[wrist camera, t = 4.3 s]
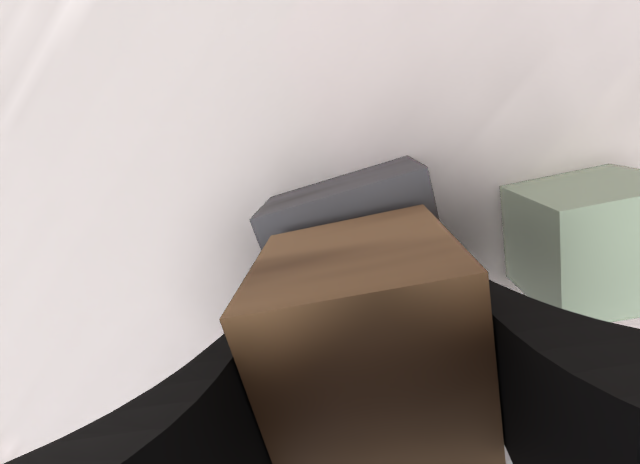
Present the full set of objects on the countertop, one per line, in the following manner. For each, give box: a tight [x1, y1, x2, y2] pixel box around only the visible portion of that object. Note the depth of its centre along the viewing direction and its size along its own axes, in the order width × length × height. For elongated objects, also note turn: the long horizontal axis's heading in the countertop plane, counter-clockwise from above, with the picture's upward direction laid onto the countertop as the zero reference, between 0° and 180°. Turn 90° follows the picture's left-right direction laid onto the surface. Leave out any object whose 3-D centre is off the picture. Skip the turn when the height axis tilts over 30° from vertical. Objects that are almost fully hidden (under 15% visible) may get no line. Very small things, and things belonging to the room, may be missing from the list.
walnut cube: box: [219, 204, 506, 464], centre depth 9 cm, size 5×5×5 cm
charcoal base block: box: [250, 156, 439, 251], centre depth 15 cm, size 6×6×4 cm
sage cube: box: [500, 164, 640, 322], centre depth 14 cm, size 4×4×4 cm
